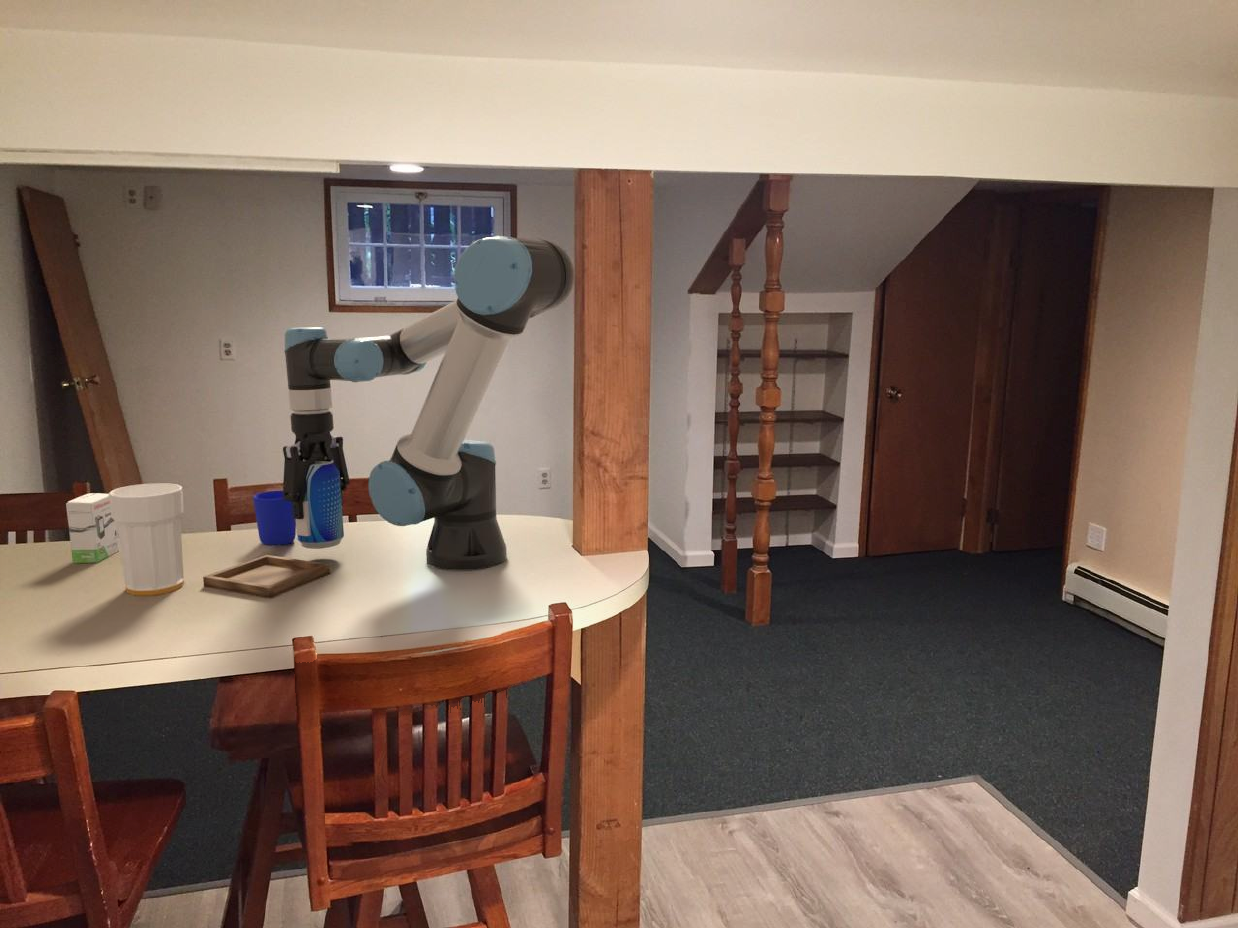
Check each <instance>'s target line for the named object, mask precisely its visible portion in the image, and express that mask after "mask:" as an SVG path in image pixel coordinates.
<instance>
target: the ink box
mask: <svg viewBox="0 0 1238 928" xmlns="http://www.w3.org/2000/svg"><path fill="white" fill-rule="evenodd" d="M65 506H66V516H67V523H68V533H69V541H70V548H71V551H70V552H71V558H72V563H73V564H77V563H78V564H79V563H80V564H82V563H85V564H87V563H91V564H92V563H96V564H97V563H100V562H101V561H103V560H105V559H107V558H109V557H110V556H112V555H114V554H116V553H118V552H120V545H119V538H118V530H117V523H116V522H115V521H114V520H113V519H112V514H111V507H110V500H109V493H100V492H98V493H94V492H92V493H91V492H90V493H86V494H83V495H80V496H79V497H76V498H74V499H71V500H69V501H67V503H65Z"/></svg>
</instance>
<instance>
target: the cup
mask: <svg viewBox="0 0 1238 928" xmlns="http://www.w3.org/2000/svg"><path fill="white" fill-rule="evenodd" d="M183 492H184V491H183V486H182V485H180V484H176V483H171V482H170V483H169V482H168V483H167V482H166V483H165V482H164V483H162V482H155V483H140V484H133V485H131V484H130V485H128V486H122V487H118V488H114V489H113V490H111V491H110V492H109V493H108V494H109V500H110V507H111V514H112V519H113V520H114V521H115V522H116V524H117V534H118V545H119V552H120V558H121V559H120V560H121V567H122V573H123V580H124V585H125V586H124V587H125V591H126V593H128V595H129V594H130V595H132V596H139V597H141V596H157V595H163V594H166V593H171V592H174V591H177V590H179V589H181V588H182V587H183V586H184V583H185V581H184V561H183V558H184V557H183V544H182V543H183V541H182V540H183V539H182V526H181V525H182V524H181V523H182V522H181V516H182V514H183V512H184V510H185V509H184V497H183V496H184V494H183Z"/></svg>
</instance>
